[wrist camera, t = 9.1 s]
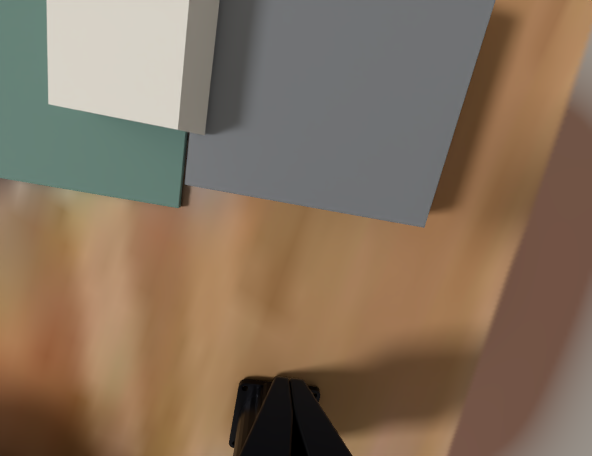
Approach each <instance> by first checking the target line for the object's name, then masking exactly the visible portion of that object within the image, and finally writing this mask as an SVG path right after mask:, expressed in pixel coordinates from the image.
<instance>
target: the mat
mask: <svg viewBox="0 0 592 456" xmlns="http://www.w3.org/2000/svg"><path fill="white" fill-rule="evenodd" d="M186 142H187V132H185V131H180V130H175V129H170V128H165V127H159V126H154V125H149V124H144V123H139V122H134V121H129V120H124V119H119V118H114V117H109V116H104V115H99V114H94V113H88V112H84V111H79V110H74V109H69V108H64V107H60V106H55V105H50V104H48V57H47V2H46V0H0V178H4V179H10V180H16V181H22V182H28V183H34V184H39V185H45V186H51V187H57V188H63V189H69V190H75V191H81V192H87V193H92V194H98V195H104V196H110V197H116V198H122V199H128V200H134V201H140V202H146V203H151V204H157V205H163V206H169V207H175V208H179V207H180V205H181V195H182V184H183V173H184V163H185V152H186Z"/></svg>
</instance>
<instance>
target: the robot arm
mask: <svg viewBox="0 0 592 456" xmlns="http://www.w3.org/2000/svg"><path fill="white" fill-rule="evenodd" d="M243 386H247V387H243ZM312 393H315V394H312ZM319 399H320V391H319V388H317V387H315V386H307V384H306V383H305V381H304V380H303V379H299V378H290V379H288V378H287V377H280V376H276V377H275V378H274V380H273V382H268V381H259V380H249V379H244V380H241V381H240V383H239V387H238V393H237V399H236V405H235V411H234V416H233V422H232V428H231V434H230V440H229V445H230V446H231V447H233V448H234V453H233V456H352V454H351V453H350V451H349V450H348V448H347V447H346V445H345V443H344V442H343V440H342V439H341V437H340V436H339V434H338V433H337V431H336V429H335V428H334V426H333V425H332V423H331V422H330V420H329V419H328V417H327V416H326V414H325V412H324V411H323V409H322V408H321V406H320V405H319V403H318V402H319Z"/></svg>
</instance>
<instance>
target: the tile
mask: <svg viewBox="0 0 592 456" xmlns="http://www.w3.org/2000/svg"><path fill="white" fill-rule="evenodd" d="M219 1H220V0H46V2H47V57H48V104H50V105H55V106H60V107H64V108H69V109H74V110H79V111H84V112H88V113H94V114H99V115H104V116H109V117H114V118H119V119H124V120H129V121H134V122H139V123H144V124H149V125H154V126H159V127H165V128H170V129H175V130H180V131H185V132H190V133H195V134H200V135H205V128H206V119H207V110H208V101H209V92H210V82H211V73H212V64H213V55H214V46H215V37H216V28H217V19H218V10H219Z"/></svg>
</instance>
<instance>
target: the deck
mask: <svg viewBox="0 0 592 456" xmlns="http://www.w3.org/2000/svg"><path fill="white" fill-rule="evenodd" d="M494 3H495V0H220V1H219V10H218V19H217V28H216V37H215V46H214V55H213V64H212V73H211V82H210V92H209V101H208V110H207V119H206V128H205V135H200V134H195V133H190V135H189V145H188V155H187V166H186V176H185V185H190V186H195V187H201V188H206V189H212V190H218V191H223V192H229V193H234V194H240V195H245V196H251V197H257V198H262V199H268V200H273V201H279V202H284V203H290V204H296V205H301V206H307V207H312V208H318V209H323V210H329V211H335V212H340V213H346V214H351V215H357V216H362V217H368V218H374V219H379V220H385V221H390V222H396V223H401V224H407V225H413V226H418V227H425V223H426V220H427V217H428V214H429V211H430V207H431V204H432V201H433V198H434V195H435V191H436V188H437V185H438V182H439V179H440V175H441V172H442V169H443V166H444V163H445V160H446V156H447V153H448V150H449V147H450V144H451V140H452V137H453V134H454V131H455V128H456V124H457V121H458V118H459V115H460V112H461V108H462V105H463V102H464V99H465V96H466V92H467V89H468V86H469V83H470V80H471V76H472V73H473V70H474V67H475V64H476V60H477V57H478V54H479V51H480V48H481V44H482V41H483V38H484V35H485V32H486V28H487V25H488V22H489V19H490V16H491V12H492V9H493V6H494Z"/></svg>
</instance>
